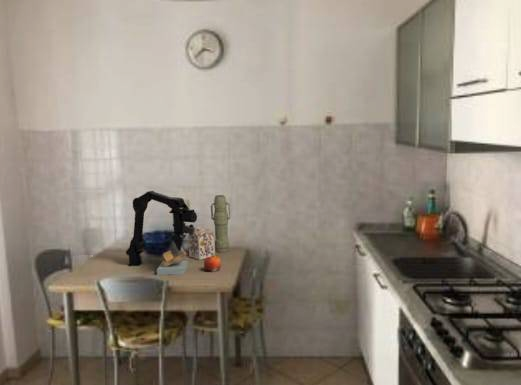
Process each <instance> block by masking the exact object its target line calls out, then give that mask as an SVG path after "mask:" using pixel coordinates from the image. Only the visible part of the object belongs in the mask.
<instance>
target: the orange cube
mask: <svg viewBox="0 0 521 385" xmlns="http://www.w3.org/2000/svg"><path fill="white" fill-rule="evenodd" d="M162 256H163V259H164V258H165V260H166V261H169V260H171V259H173V257H174V256H175V255H174V254H173V252H172V250H171V249H170V250H168V251H166V252H164V253H163V254H162Z"/></svg>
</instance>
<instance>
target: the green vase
mask: <svg viewBox="0 0 521 385" xmlns="http://www.w3.org/2000/svg"><path fill="white" fill-rule="evenodd" d="M227 205H228V210H227ZM213 206H214V209H213ZM213 210H214V211H213ZM227 211H228V212H227ZM210 216H211V220H212V221H213V224H214V239H215V251H216V252H215V253H226V252H229V251H230V241H229V235H228V234H229V233H228V232H229V231H228V224H229V220H231V206H230V203H229V202H227V199H226V196H225V195H223V194H219V195H215V196H214V199H213V203H212V204H211V205H210Z"/></svg>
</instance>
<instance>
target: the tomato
mask: <svg viewBox="0 0 521 385" xmlns="http://www.w3.org/2000/svg"><path fill="white" fill-rule="evenodd" d="M221 266H222V262H221V258H219V257H218V256H216V255H215V256H211V257H207V258H206V259H203V267H204V269H206V271H207V270H208V271H211V272H215V271H219V270H220V268H221Z"/></svg>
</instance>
